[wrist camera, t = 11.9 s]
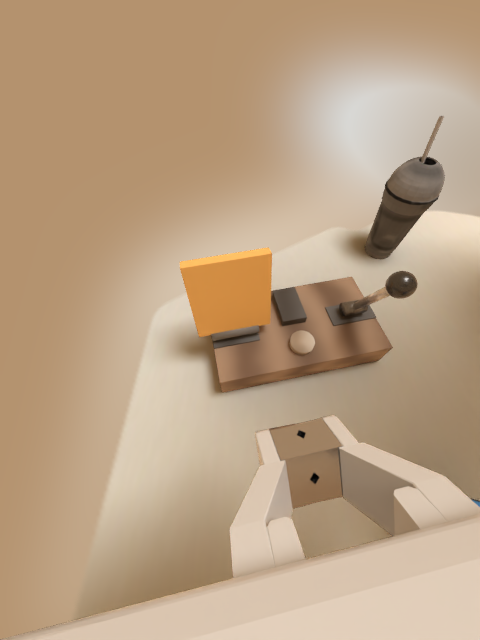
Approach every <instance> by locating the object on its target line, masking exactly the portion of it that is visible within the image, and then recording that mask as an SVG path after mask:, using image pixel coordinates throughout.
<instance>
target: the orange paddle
mask: <svg viewBox="0 0 480 640" xmlns="http://www.w3.org/2000/svg"><path fill="white" fill-rule="evenodd" d="M271 267H272V253H271V251H270V249H269V248H262V249H256V250H250V251H244V252H238V253H232V254H225V255H219V256H213V257H206V258H201V259H194V260H188V261H182V262H180V270H181V273H182V277H183V280H184V284H185V288H186V292H187V295H188V299H189V302H190V306H191V309H192V313H193V317H194V320H195V324H196V327H197V331H198V335H199V337H203V336H208V335H211V336H212V341H215V340H221V339H226V338H231V337H237V336H242V335H247V334H252V333H258V332H259V326H261V325H267V324H270V314H271Z"/></svg>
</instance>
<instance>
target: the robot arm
mask: <svg viewBox="0 0 480 640" xmlns="http://www.w3.org/2000/svg"><path fill="white" fill-rule="evenodd" d="M255 438H256V444H257V450H258V456H259V462H260V466H259V468H258V470H257V472H256V474H255V476H254V479H253V481H252V483H251V485H250V487H249V489H248V491H247V493H246V495H245V497H244V500H243V502H242V504H241V506H240V508H239V510H238V512H237V514H236V516H235V518H234V521H233V523H232V525H231V527H230V542H231V556H232V571H233V578H232V579H229V580H225V581H221V582H217V583H213V584H210V585H206V586H202V587H198V588H194V589H191V590H187V591H183V592H179V593H175V594H172V595H168V596H164V597H160V598H156V599H153V600H149V601H145V602H141V603H137V604H134V605H130V606H126V607H122V608H118V609H115V610H111V611H107V612H103V613H99V614H95V615H92V616H88V617H84V618H80V619H76V620H73V621H69V622H65V623H61V624H57V625H54V626H50V627H46V628H42V629H38V630H35V631H31V632H27V633H23V634H20V635H16V636H12V637H8V638H5V639H0V640H480V507H479V506H478V505H477V504H476V503H474V502H473V501H472V500H471V499H470V498H469V497H468V496H467V495H465V494H464V493H463V492H462V491H461V490H460V489H459V488H458V487H457V486H455V485H454V484H453V483H452V482H451V481H450V480H449V479H448V478H446V477H445V476H443V475H441V474H439V473H436V472H434V471H431V470H429V469H427V468H424V467H422V466H419V465H417V464H415V463H412V462H410V461H407V460H405V459H403V458H400V457H398V456H395V455H393V454H391V453H388V452H386V451H383V450H381V449H379V448H376V447H374V446H371V445H369V444H367V443H364V442H362V443H359V442H358V441H357V440H356V439H355V438H354V436H353V435H352V434H351V433H350V432H349V431H348V429H347V428H346V427H345V426H344V425H343V424H342V422H341V421H340V420H339V419H338V418H337V417H336V416H335V415H330V416H326V417H322V418H320V419H315V420H311V421H306V422H302V423H298V424H292V425H287V426H281V427H276V428H271V429H269V430H268V429H266V430H262V431H257V432H255ZM339 497H343V498H344V499H345V500H347V501H348V502H349V503H351V504H352V505H353V506H355V507H356V508H357V509H358V510H360V511H361V512H362V513H364V514H365V515H366V516H368V517H369V518H370V519H371V520H373V521H374V522H375V523H377V524H378V525H379V526H381V527H382V528H383V529H385V530H386V531H387V532H388V533H390V534H391V535H392V537H388V538H384V539H381V540H377V541H373V542H369V543H365V544H362V545H358V546H354V547H350V548H346V549H343V550H339V551H335V552H331V553H327V554H324V555H320V556H316V557H312V558H308V559H306V558H305V555H304V552H303V549H302V546H301V543H300V541H299V538H298V535H297V532H296V529H295V526H294V523H293V520H292V519H291V518H292V513H293V509H295V508H298V507H302V506H305V505H309V504H312V503H316V502H320V501H325V500H330V499H334V498H339Z"/></svg>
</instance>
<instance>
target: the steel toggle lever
mask: <svg viewBox="0 0 480 640" xmlns="http://www.w3.org/2000/svg"><path fill="white" fill-rule="evenodd" d="M385 286H386V287H384V288H382V289H380V290H378V291H376V292H374V293H373V294H371V295H369V296H367V297H365V298H363V299H359V300H354V301H348V302H343V303H340V305H339V310H340V313H341V315H342V316H348V315H353V314H358V313H364V312H367V310H368V305H370V304H372V303H374V302H376V301H379V300H381V299H383V298H386V297H388V296H390V295H391V296H392V297H394V298H406V297H409V296H411V295H412V294H413V293H414V292H415V290H416V288H417V279H416V278H415V276H414V275H413V274H411V273H409V272H406V271H399V272H396V273H394V274H392V275H391V276H390V277H389V278H388V279H387V281H386V285H385Z"/></svg>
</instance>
